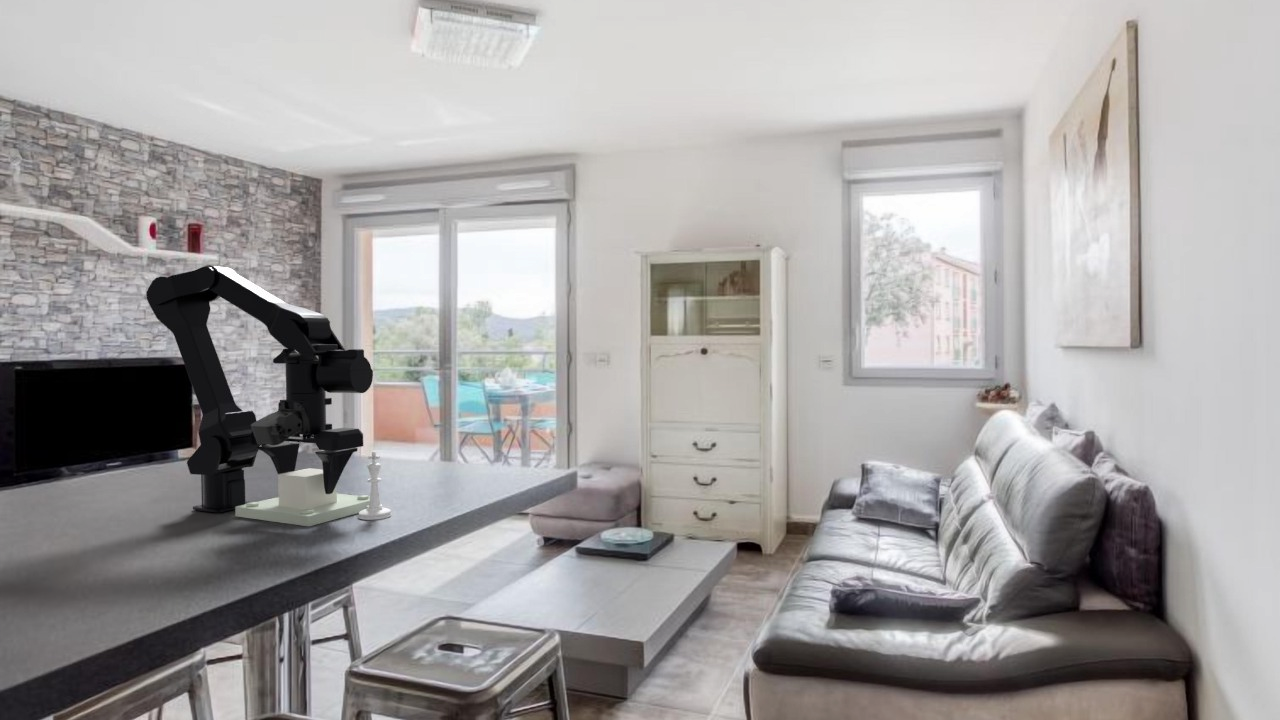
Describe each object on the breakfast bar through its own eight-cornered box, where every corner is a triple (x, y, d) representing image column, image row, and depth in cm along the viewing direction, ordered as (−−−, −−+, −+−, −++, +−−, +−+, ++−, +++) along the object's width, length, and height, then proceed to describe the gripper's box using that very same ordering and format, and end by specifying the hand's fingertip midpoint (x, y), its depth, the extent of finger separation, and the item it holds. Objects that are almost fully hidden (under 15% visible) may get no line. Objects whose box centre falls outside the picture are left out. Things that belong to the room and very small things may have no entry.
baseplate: (235, 516, 121) (235, 504, 120) (309, 499, 133) (309, 488, 133) (308, 526, 114) (308, 513, 113) (379, 507, 126) (379, 495, 126)
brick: (278, 506, 121) (277, 474, 120) (310, 498, 126) (309, 468, 126) (306, 509, 118) (305, 476, 118) (336, 501, 123) (336, 470, 123)
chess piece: (381, 520, 117) (380, 454, 117) (351, 519, 118) (350, 454, 118) (397, 513, 122) (396, 450, 122) (369, 512, 123) (368, 449, 123)
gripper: (219, 394, 118) (221, 496, 119) (306, 398, 110) (308, 507, 111) (281, 389, 128) (282, 483, 129) (365, 392, 120) (366, 492, 121)
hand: (307, 491), depth 122 cm, fingers open, 9 cm apart
